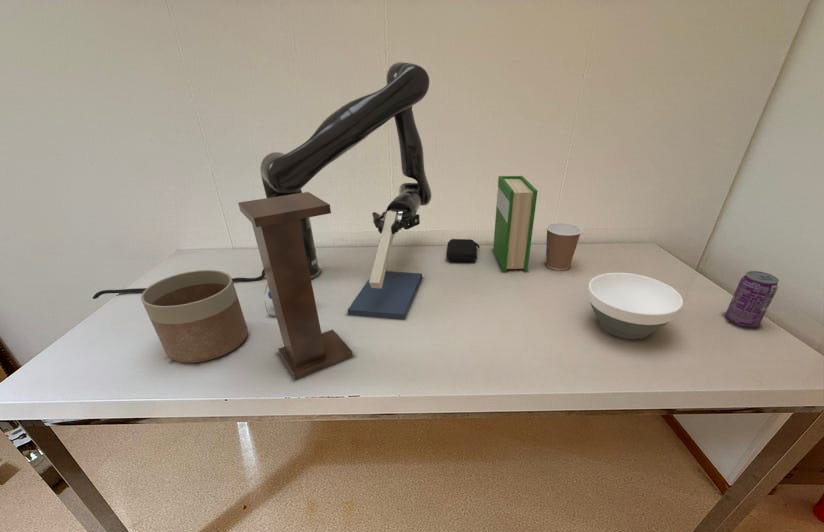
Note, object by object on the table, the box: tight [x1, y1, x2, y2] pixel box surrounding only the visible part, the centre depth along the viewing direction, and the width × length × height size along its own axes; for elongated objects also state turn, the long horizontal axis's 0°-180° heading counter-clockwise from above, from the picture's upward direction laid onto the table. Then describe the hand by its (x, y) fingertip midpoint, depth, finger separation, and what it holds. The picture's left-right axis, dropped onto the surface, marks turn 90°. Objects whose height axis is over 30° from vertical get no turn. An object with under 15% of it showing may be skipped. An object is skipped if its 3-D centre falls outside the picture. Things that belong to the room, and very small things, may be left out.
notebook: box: [347, 270, 423, 320], centre depth 104 cm, size 14×22×2 cm, turn 172°
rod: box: [369, 211, 397, 289], centre depth 97 cm, size 22×2×2 cm, turn 172°
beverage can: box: [724, 270, 780, 328], centre depth 91 cm, size 7×7×12 cm
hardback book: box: [492, 175, 539, 273], centre depth 118 cm, size 18×7×24 cm, turn 4°
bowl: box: [587, 272, 684, 340], centre depth 89 cm, size 20×20×10 cm
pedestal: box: [237, 191, 354, 381], centre depth 73 cm, size 12×10×32 cm
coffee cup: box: [545, 222, 583, 271], centre depth 118 cm, size 10×10×12 cm
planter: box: [140, 269, 249, 363], centre depth 82 cm, size 16×16×14 cm
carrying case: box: [445, 238, 480, 263], centre depth 127 cm, size 11×3×15 cm
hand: (386, 230), depth 98 cm, fingers closed on rod, 2 cm apart
